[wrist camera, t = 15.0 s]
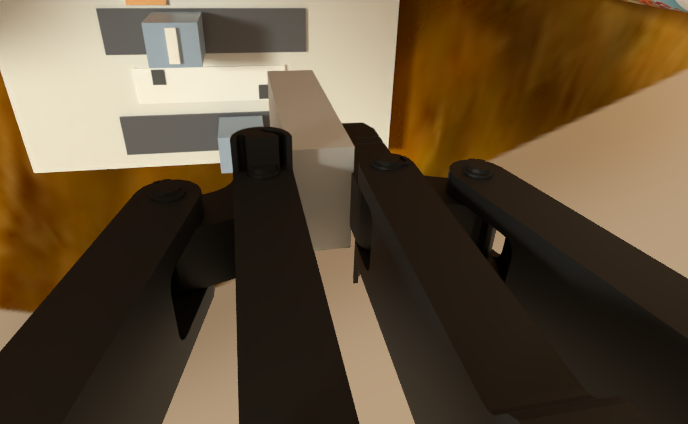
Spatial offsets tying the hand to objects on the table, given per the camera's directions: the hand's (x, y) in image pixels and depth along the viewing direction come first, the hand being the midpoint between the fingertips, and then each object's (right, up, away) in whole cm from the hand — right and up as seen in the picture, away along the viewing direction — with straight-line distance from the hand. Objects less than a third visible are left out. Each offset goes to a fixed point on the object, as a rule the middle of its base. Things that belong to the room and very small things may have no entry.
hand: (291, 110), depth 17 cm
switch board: (-8, +6, +19) cm, 21 cm away
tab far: (-6, +2, +19) cm, 20 cm away
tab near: (-9, +8, +15) cm, 19 cm away
